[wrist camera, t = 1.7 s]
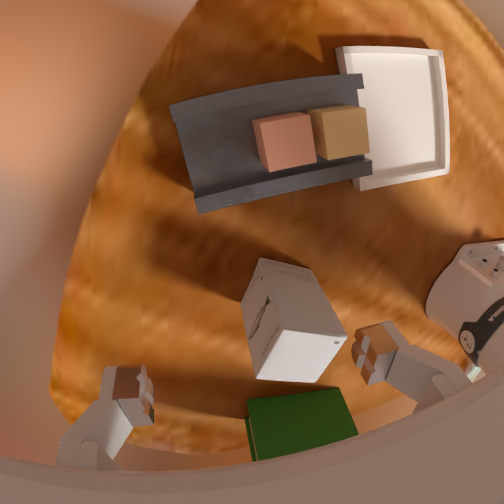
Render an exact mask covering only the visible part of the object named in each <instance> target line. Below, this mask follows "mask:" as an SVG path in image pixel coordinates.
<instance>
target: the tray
mask: <svg viewBox="0 0 504 504" xmlns="http://www.w3.org/2000/svg"><path fill="white" fill-rule="evenodd" d="M335 53H336V59H337V64H338V70H339V74H355V73H362V76H363V83H364V89H357V92H358V100H359V107H363V108H366V117H367V126H368V136H369V147H370V153H367V154H364V155H365V157H366V158H368V159H370V160H372V170H373V175H369V176H364V177H359V178H354V179H352V184H353V187H355V188H356V189H358V190H359V191H365V190H369V189H374V188H379V187H384V186H389V185H394V184H398V183H403V182H409V181H414V180H419V179H424V178H429V177H434V176H440V175H445V174H449V166H450V135H449V110H448V96H447V85H446V75H445V67H444V60H443V53H442V51H440V50H431V49H421V48H408V47H390V46H342V47H338V48H335Z"/></svg>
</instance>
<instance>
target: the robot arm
mask: <svg viewBox="0 0 504 504" xmlns="http://www.w3.org/2000/svg"><path fill="white" fill-rule="evenodd" d="M426 314H427V317H428V318H429V319H430V320H431V321H433V322H435V323H436V324H438V325H439V326H441V327H442V328H443V329H445V330H446V331H447V332H448V333H449V334H450V335H452V336H453V337H454V338H455V339H456V340H457V341H458V342H459V343H460V345H461V346H462V348H463V350H464V352H465V353H466V354H467V356H468V357H469V358H470V359H471V361H472V362H473V363H474V364H475V365H476V366H477V367H480V368H481V369H482V370H483V372H484V373H485V374H486V376H485V377H483V378H482V379H480V380H478V381H476V382H475V383H473V384H472V382H471V381H470V380H469V378H468V377H467V376H466V374H465V373H464V372H463V371H462V369H461V368H460V367H459V366H458V364H456V363H453V362H451V361H449V360H447V359H444V358H442V357H440V356H438V355H435V354H433V353H431V352H429V351H426V350H424V349H422V348H420V347H417V346H415V345H410V344H409V343H408V342H407V340H406V339H405V338H404V336H403V335H402V334H401V333H400V331H399V330H398V329H397V328H396V326H395V325H394V324H393V322H391V321H386V322H382V323H379V324H374V325H371V326H367V327H363V328H359V329H357V330H356V331H355V335H354V337H355V338H356V341H355V342H354V343H353V344H352V349H351V352H352V358H353V361H354V363H355V365H356V366H357V367H359V368H361V369H362V370H361V375H362V377H363V379H364V381H365V382H366V384H367V386H368V385H371V384H375V383H378V382H381V381H384V380H386V382H387V383H389V384H390V385H392V386H393V387H395V388H396V389H398V390H399V391H401V392H403V393H404V394H406V395H407V396H409V397H411V398H412V399H413V400H415V401H416V402H418V403H417V405H416V407H415V409H414V410H413V413H412V414H411V415H409V416H407V417H404V418H402V419H400V420H397V421H395V422H393V423H390V424H387V425H385V426H382V427H379V428H377V429H374V430H371V431H368V432H366V433H363V434H360V435H357V436H354V437H351V438H348V439H345V440H342V441H338V442H335V443H332V444H328V445H325V446H321V447H317V448H314V449H310V450H306V451H302V452H298V453H294V454H290V455H285V456H281V457H276V458H271V459H266V460H260V461H255V462H249V463H244V464H236V465H230V466H222V467H214V468H204V469H193V470H180V471H154V472H126V471H125V472H124V471H123V470H122V469H121V468H120V467H119V466H118V465H117V464H116V463H115V462H114V461H113V458H114V457H115V455H116V454H117V452H118V451H119V449H120V448H121V446H122V445H123V443H124V441H125V440H126V438H127V437H128V435H129V434H130V432H131V430H132V429H133V426H147V425H154V409H153V407H152V404H153V402H154V388H153V384H152V381H151V379H150V378H149V377H147V370H146V368H145V365H123V366H106V367H105V369H104V373H103V378H102V383H101V389H100V395H99V400H95V401H94V402H93V403H92V404H91V405H90V406H89V407H88V409H87V410H86V411H85V412H84V413H83V414H82V415H81V416H80V417H79V418H78V420H77V421H76V422H75V423H74V424H73V425H72V426H71V427H70V428H69V430H68V431H67V432H66V433H65V434H64V435H63V436H62V437H61V439H60V444H59V451H58V456H57V462H56V466H53V465H47V464H41V463H36V462H30V461H25V460H20V459H16V458H11V457H7V456H3V455H0V504H504V240H501V241H492V242H482V243H473V244H465V245H463V246H462V247H461V248H460V250H459V251H458V253H457V255H456V256H455V258H454V260H453V261H452V263H451V264H450V265H449V266H448V267H447V268H446V269H445V270H444V271H443V272H442V273H441V275H440V276H439V277H438V279H437V280H436V282H435V283H434V285H433V287H432V289H431V291H430V293H429V296H428V298H427V302H426Z"/></svg>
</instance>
